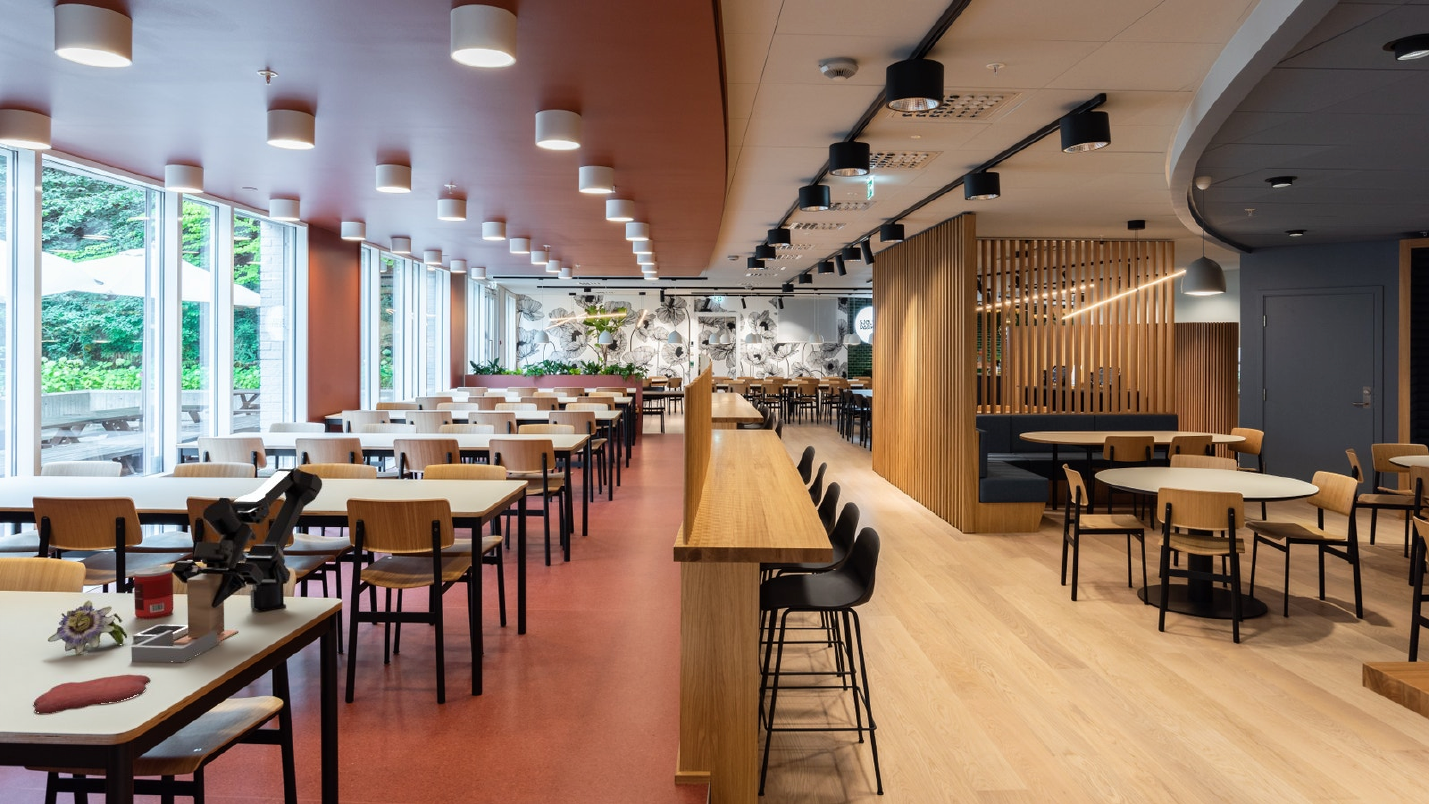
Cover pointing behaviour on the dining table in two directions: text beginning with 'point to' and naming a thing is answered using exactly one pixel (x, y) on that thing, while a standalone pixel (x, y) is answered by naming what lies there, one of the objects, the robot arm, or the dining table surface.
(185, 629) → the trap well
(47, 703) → the patty
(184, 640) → the pad
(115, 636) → the passion flower
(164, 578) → the canned food
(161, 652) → the channel
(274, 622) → the dining table surface
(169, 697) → the dining table surface
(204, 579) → the walnut block
